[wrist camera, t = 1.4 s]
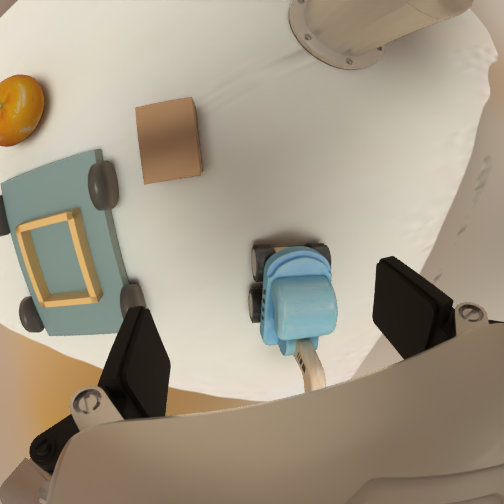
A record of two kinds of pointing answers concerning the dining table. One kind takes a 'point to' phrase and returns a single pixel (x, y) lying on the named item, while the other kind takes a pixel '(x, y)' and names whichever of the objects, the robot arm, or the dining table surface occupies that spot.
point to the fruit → (19, 108)
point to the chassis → (68, 246)
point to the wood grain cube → (168, 140)
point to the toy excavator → (295, 303)
